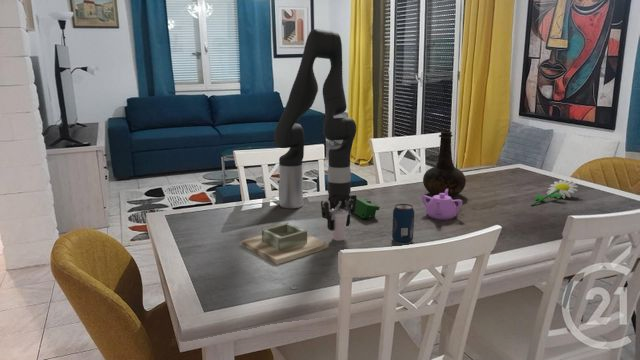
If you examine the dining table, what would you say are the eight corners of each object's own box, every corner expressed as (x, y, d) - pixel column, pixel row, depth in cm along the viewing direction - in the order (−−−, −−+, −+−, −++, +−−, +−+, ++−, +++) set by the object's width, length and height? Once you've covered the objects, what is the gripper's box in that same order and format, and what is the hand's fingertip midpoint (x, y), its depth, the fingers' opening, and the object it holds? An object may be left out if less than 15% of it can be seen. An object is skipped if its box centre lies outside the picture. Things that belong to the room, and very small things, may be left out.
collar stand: (241, 245, 165) (240, 229, 163) (291, 231, 177) (290, 216, 176) (277, 264, 150) (276, 247, 148) (328, 247, 162) (328, 231, 161)
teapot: (446, 209, 201) (447, 187, 199) (464, 220, 188) (466, 197, 186) (418, 211, 198) (420, 190, 196) (436, 223, 185) (437, 200, 183)
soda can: (390, 236, 172) (392, 203, 169) (411, 237, 171) (413, 203, 168) (393, 244, 165) (394, 209, 162) (414, 244, 165) (416, 209, 162)
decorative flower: (546, 215, 201) (583, 192, 218) (546, 203, 200) (583, 182, 216) (517, 209, 211) (555, 188, 227) (516, 198, 210) (554, 177, 226)
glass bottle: (469, 193, 223) (474, 130, 216) (456, 203, 209) (461, 136, 202) (431, 187, 233) (434, 126, 226) (416, 196, 218) (419, 132, 211)
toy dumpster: (372, 228, 193) (382, 210, 188) (359, 226, 190) (369, 208, 186) (362, 208, 202) (371, 190, 197) (349, 206, 199) (358, 188, 195)
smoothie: (328, 235, 173) (328, 196, 169) (346, 235, 173) (347, 195, 170) (330, 242, 167) (330, 201, 163) (349, 241, 167) (350, 201, 164)
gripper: (347, 173, 172) (347, 220, 176) (314, 180, 163) (314, 229, 167) (363, 177, 167) (362, 226, 171) (330, 185, 158) (329, 235, 162)
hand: (338, 227), depth 169 cm, fingers closed on smoothie, 6 cm apart
